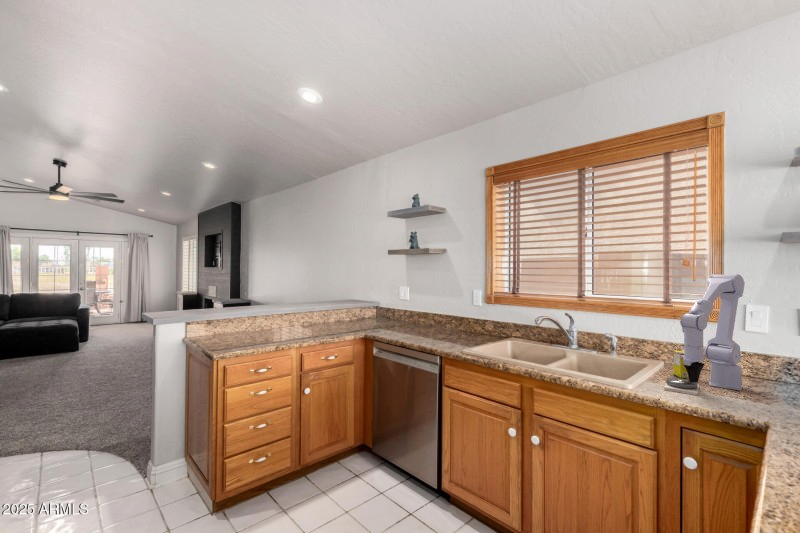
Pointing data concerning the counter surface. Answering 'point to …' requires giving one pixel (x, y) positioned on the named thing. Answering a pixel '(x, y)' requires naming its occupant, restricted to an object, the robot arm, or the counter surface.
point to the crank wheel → (682, 383)
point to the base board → (681, 389)
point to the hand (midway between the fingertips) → (693, 381)
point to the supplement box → (679, 365)
